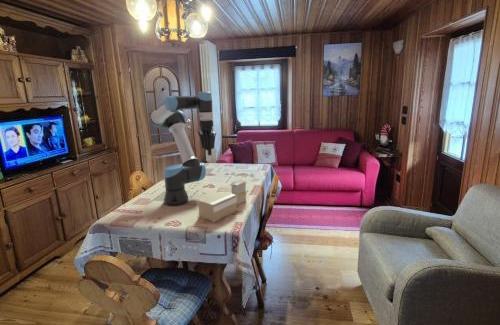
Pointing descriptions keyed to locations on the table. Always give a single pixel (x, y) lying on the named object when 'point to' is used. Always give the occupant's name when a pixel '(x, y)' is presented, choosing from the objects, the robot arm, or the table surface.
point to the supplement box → (239, 191)
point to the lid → (217, 198)
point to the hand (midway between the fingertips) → (208, 160)
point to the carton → (217, 210)
